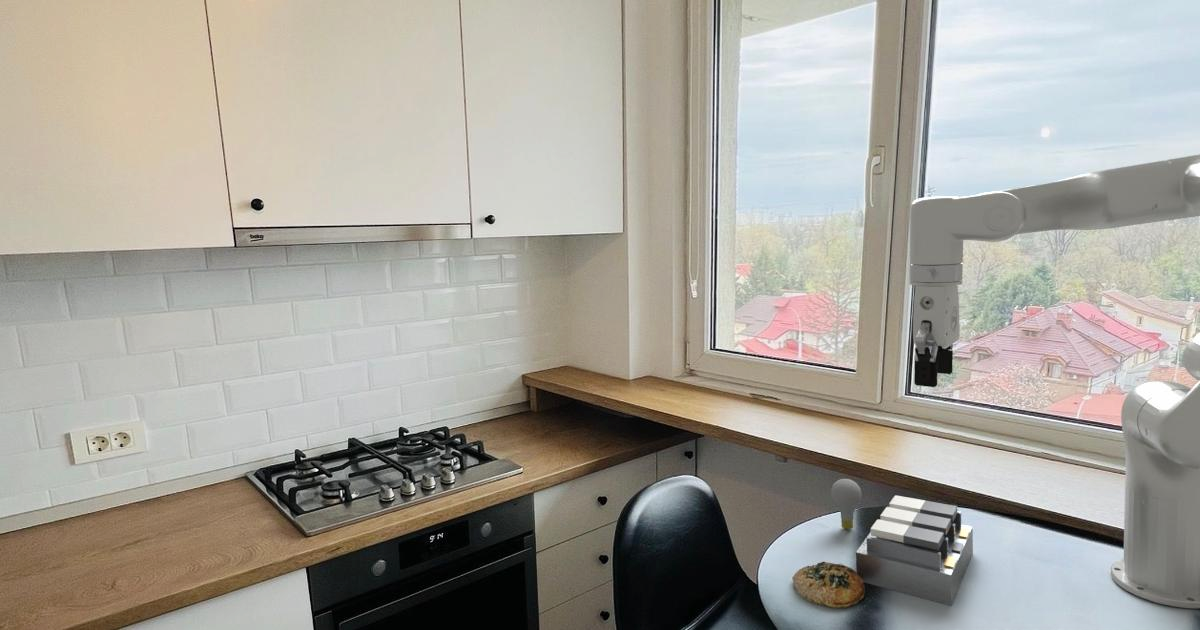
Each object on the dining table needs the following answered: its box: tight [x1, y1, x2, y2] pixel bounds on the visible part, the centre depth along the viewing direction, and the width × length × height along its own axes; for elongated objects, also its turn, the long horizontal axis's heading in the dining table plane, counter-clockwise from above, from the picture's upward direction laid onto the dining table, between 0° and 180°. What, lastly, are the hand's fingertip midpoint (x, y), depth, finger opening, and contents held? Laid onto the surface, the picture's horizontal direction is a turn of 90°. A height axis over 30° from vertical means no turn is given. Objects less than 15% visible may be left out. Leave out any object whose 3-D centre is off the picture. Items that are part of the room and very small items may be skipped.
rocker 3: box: [870, 519, 944, 550], centre depth 104 cm, size 10×4×1 cm, turn 51°
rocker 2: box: [879, 506, 951, 535], centre depth 108 cm, size 10×4×1 cm, turn 51°
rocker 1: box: [888, 495, 958, 522], centre depth 112 cm, size 10×4×1 cm, turn 51°
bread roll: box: [791, 561, 866, 609], centre depth 105 cm, size 11×11×5 cm
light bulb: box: [830, 478, 863, 531], centre depth 124 cm, size 6×6×10 cm
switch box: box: [855, 510, 974, 606], centre depth 109 cm, size 14×18×8 cm
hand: (933, 379), depth 106 cm, fingers open, 9 cm apart
